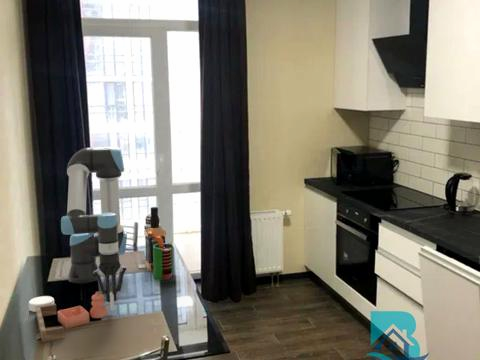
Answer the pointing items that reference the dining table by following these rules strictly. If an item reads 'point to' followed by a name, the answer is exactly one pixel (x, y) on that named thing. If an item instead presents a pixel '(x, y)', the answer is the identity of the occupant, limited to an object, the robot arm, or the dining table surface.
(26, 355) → the dining table surface
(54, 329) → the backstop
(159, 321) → the dining table surface
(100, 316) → the pottery
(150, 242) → the whiskey bottle
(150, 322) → the dining table surface
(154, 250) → the motor
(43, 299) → the coaster
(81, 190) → the robot arm
